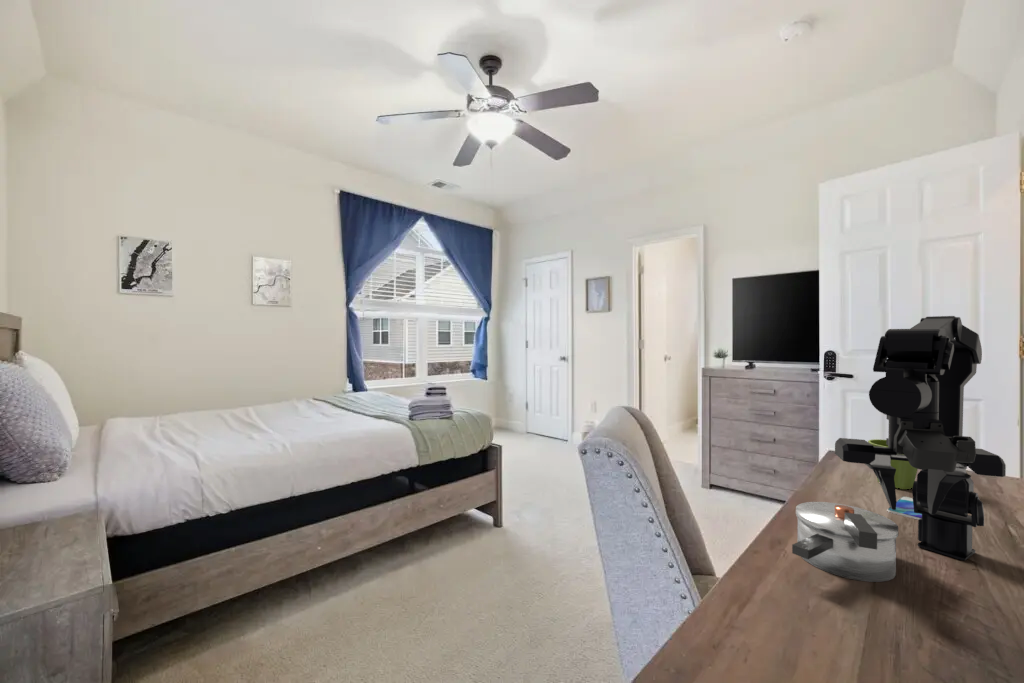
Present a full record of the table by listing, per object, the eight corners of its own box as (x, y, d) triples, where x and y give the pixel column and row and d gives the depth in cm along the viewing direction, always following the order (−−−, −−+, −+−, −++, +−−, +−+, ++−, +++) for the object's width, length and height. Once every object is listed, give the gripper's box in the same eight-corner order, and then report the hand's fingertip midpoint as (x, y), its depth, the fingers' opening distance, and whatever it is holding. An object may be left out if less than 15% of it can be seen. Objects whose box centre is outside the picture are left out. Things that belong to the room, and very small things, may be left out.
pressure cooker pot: (827, 533, 90) (827, 501, 90) (916, 563, 78) (916, 526, 78) (757, 565, 77) (757, 527, 77) (850, 606, 65) (851, 562, 65)
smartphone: (941, 504, 105) (928, 520, 96) (941, 508, 105) (928, 524, 96) (902, 495, 111) (885, 509, 102) (901, 498, 111) (885, 513, 102)
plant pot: (910, 495, 112) (910, 451, 112) (858, 481, 123) (858, 441, 123) (935, 489, 117) (935, 446, 117) (882, 476, 128) (883, 437, 128)
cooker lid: (789, 502, 89) (789, 485, 89) (881, 514, 83) (881, 496, 83) (810, 545, 70) (810, 524, 70) (930, 564, 64) (930, 541, 64)
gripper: (853, 413, 65) (853, 520, 65) (1032, 424, 57) (1031, 545, 57) (834, 403, 75) (833, 496, 75) (983, 411, 67) (982, 514, 67)
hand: (912, 511), depth 68 cm, fingers open, 4 cm apart
